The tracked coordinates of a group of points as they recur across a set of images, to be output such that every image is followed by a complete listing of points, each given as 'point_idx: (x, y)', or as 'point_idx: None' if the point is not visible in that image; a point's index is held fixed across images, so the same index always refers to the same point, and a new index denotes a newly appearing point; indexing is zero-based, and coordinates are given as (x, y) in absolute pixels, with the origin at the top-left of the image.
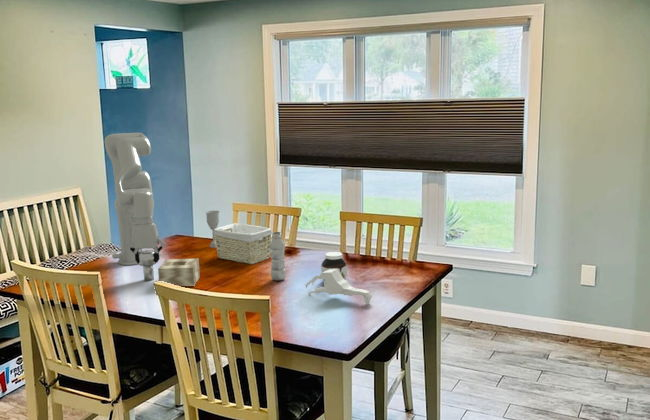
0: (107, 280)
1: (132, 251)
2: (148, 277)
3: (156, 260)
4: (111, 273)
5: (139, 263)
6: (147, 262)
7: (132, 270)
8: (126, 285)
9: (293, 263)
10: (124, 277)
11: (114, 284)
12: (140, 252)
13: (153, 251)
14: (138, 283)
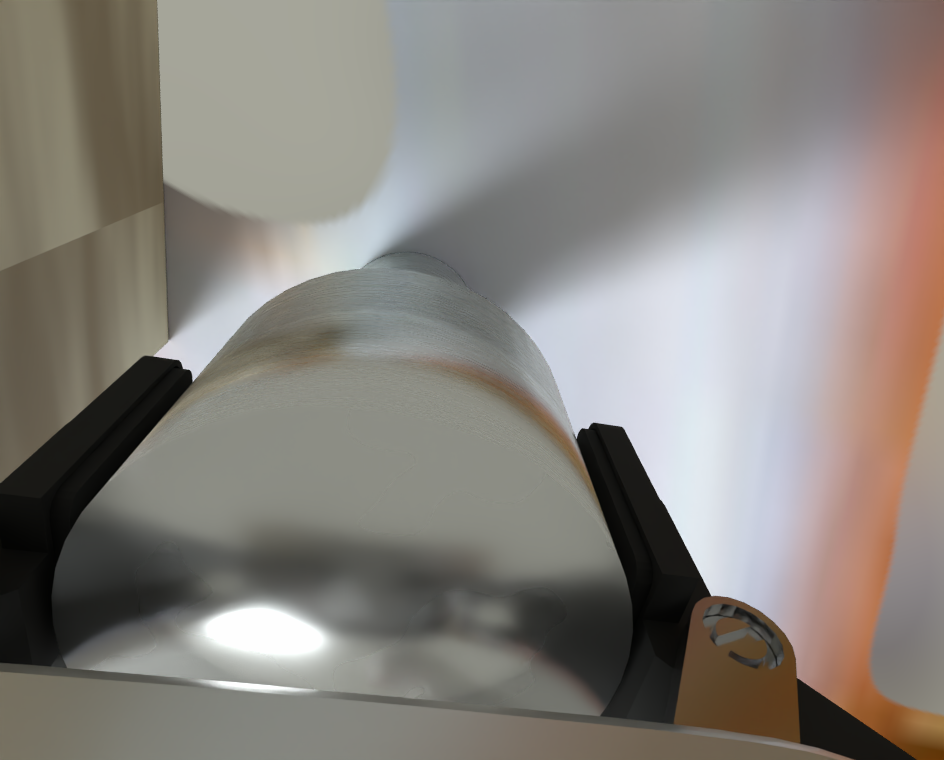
0: (914, 431)
1: (835, 709)
2: (403, 268)
3: (124, 374)
4: (820, 645)
5: (561, 398)
6: (355, 297)
7: None
8: (725, 121)
9: None
10: (711, 491)
11: (874, 232)
12: (559, 673)
13: None
14: (549, 175)
